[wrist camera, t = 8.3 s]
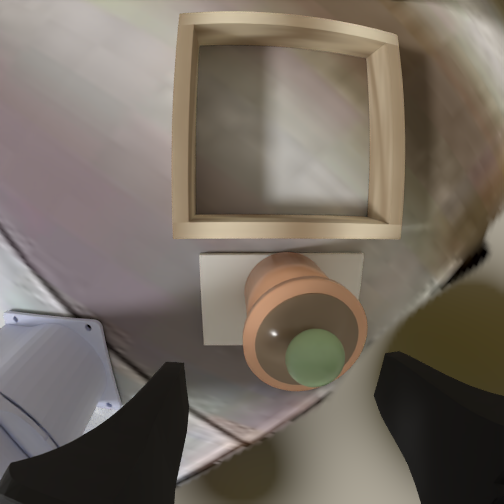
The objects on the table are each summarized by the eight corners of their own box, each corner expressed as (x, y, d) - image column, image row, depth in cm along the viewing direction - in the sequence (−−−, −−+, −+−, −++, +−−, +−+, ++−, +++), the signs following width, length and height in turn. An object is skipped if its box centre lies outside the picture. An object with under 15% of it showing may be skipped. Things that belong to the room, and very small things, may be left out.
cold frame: (182, 228, 18) (173, 238, 15) (186, 35, 15) (179, 13, 12) (377, 229, 19) (400, 239, 16) (376, 50, 16) (397, 34, 13)
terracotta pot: (239, 334, 19) (247, 431, 11) (238, 247, 18) (244, 310, 10) (325, 329, 20) (375, 415, 11) (332, 246, 18) (403, 300, 10)
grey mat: (204, 342, 20) (204, 345, 19) (200, 253, 18) (199, 255, 18) (350, 336, 20) (352, 339, 20) (361, 252, 19) (364, 254, 18)
